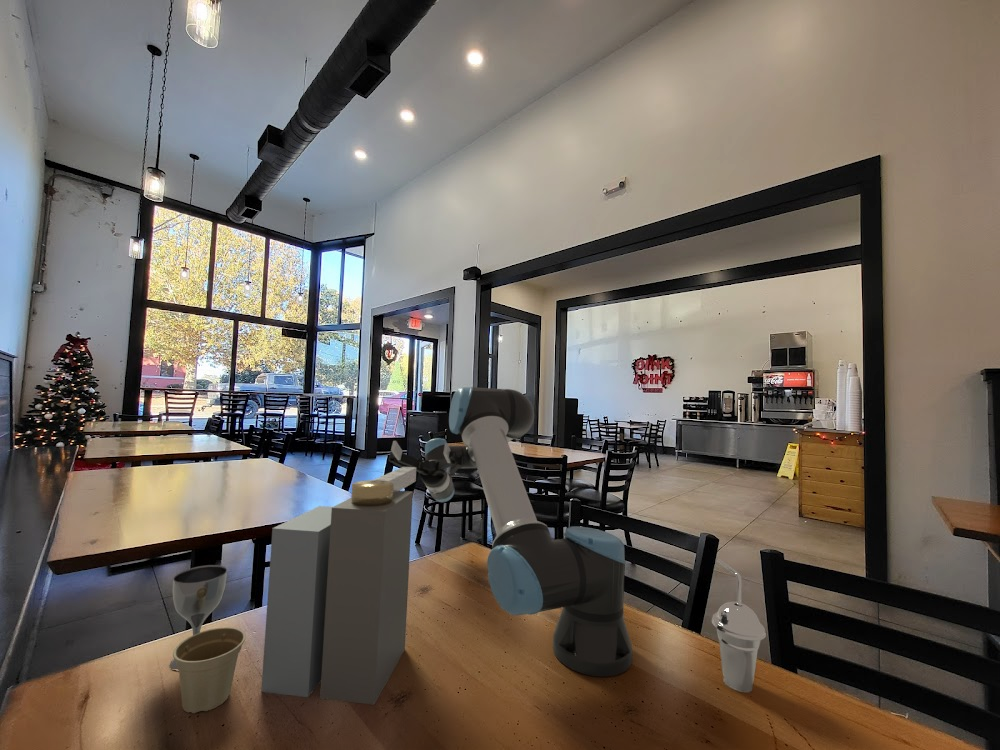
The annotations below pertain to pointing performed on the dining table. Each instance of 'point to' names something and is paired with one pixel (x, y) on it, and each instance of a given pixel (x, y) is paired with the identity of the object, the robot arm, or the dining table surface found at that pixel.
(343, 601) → the tall stand
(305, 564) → the short stand
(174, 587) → the wine glass
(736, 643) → the cup with straw
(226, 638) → the flower pot
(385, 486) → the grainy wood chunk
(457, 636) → the dining table surface
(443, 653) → the dining table surface
